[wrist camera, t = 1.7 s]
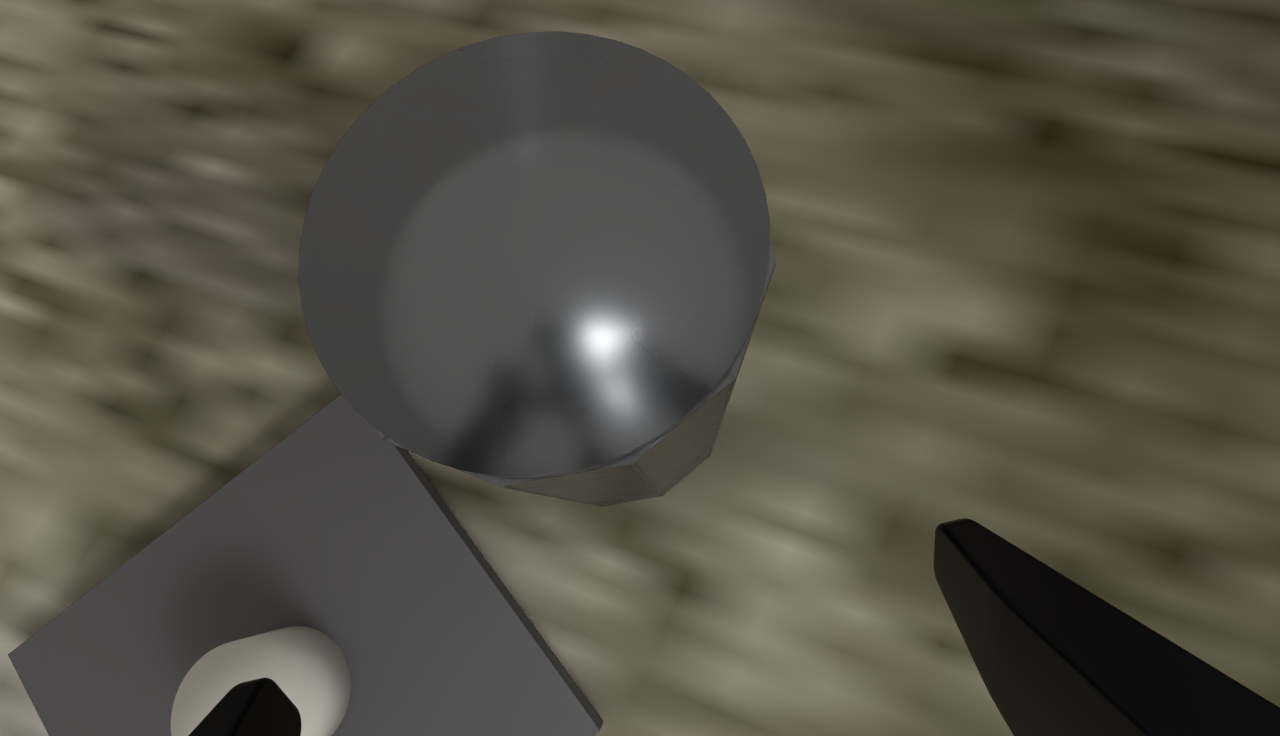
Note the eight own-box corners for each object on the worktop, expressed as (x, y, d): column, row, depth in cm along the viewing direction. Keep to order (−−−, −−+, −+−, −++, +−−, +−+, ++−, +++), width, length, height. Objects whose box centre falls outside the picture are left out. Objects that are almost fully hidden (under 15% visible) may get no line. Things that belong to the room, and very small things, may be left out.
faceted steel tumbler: (772, 403, 21) (876, 257, 10) (597, 551, 20) (478, 589, 9) (630, 245, 23) (569, -46, 11) (463, 378, 22) (212, 216, 10)
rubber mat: (603, 722, 19) (587, 759, 16) (237, 1043, 18) (144, 1151, 15) (363, 390, 22) (310, 369, 19) (33, 649, 21) (-81, 671, 18)
